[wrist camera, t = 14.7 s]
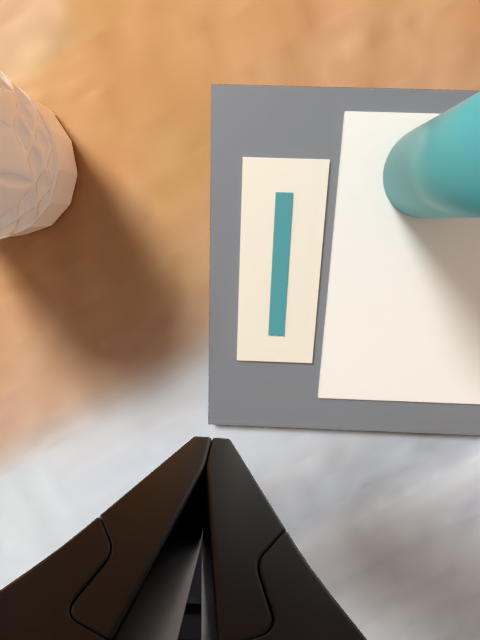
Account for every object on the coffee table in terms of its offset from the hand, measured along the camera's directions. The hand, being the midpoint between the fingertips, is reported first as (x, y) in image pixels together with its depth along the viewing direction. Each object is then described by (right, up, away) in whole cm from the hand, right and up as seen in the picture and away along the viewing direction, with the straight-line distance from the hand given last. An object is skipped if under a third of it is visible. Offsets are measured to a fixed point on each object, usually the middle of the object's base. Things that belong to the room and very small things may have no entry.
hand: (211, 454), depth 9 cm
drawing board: (+7, +5, +10) cm, 14 cm away
